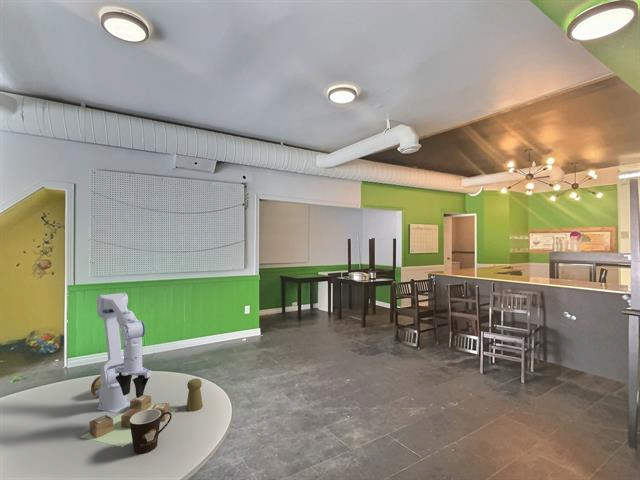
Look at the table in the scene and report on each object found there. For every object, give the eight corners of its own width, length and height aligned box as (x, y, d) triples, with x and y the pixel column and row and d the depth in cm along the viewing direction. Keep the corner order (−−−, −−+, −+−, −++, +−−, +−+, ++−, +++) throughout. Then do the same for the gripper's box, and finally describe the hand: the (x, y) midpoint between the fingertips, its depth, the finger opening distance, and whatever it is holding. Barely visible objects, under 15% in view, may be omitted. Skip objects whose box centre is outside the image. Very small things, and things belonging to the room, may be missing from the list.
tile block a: (89, 433, 108) (89, 420, 108) (105, 426, 112) (105, 414, 112) (96, 438, 105) (96, 425, 105) (113, 430, 110) (113, 418, 110)
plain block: (121, 427, 112) (121, 415, 112) (131, 419, 117) (131, 408, 117) (134, 428, 111) (134, 416, 111) (144, 420, 116) (144, 409, 116)
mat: (80, 438, 106) (80, 436, 106) (141, 403, 129) (141, 402, 129) (122, 448, 101) (122, 447, 101) (178, 410, 124) (178, 409, 124)
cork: (197, 413, 121) (197, 383, 122) (182, 411, 123) (182, 382, 123) (205, 405, 127) (205, 377, 128) (192, 403, 129) (192, 376, 129)
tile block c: (130, 411, 122) (130, 400, 122) (140, 405, 127) (140, 394, 127) (141, 412, 121) (141, 401, 121) (151, 406, 126) (151, 395, 126)
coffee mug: (127, 461, 95) (127, 426, 95) (131, 444, 103) (131, 412, 103) (171, 450, 100) (171, 418, 100) (171, 435, 108) (171, 405, 108)
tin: (94, 400, 132) (94, 379, 132) (89, 399, 133) (89, 378, 133) (129, 385, 145) (129, 367, 145) (125, 384, 147) (125, 365, 147)
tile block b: (149, 422, 115) (149, 410, 115) (155, 414, 120) (155, 403, 120) (164, 421, 115) (164, 409, 116) (169, 413, 120) (169, 402, 120)
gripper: (106, 358, 112) (106, 397, 112) (139, 362, 108) (139, 403, 108) (124, 351, 119) (124, 388, 119) (156, 355, 115) (156, 394, 115)
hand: (133, 395), depth 114 cm, fingers open, 5 cm apart
